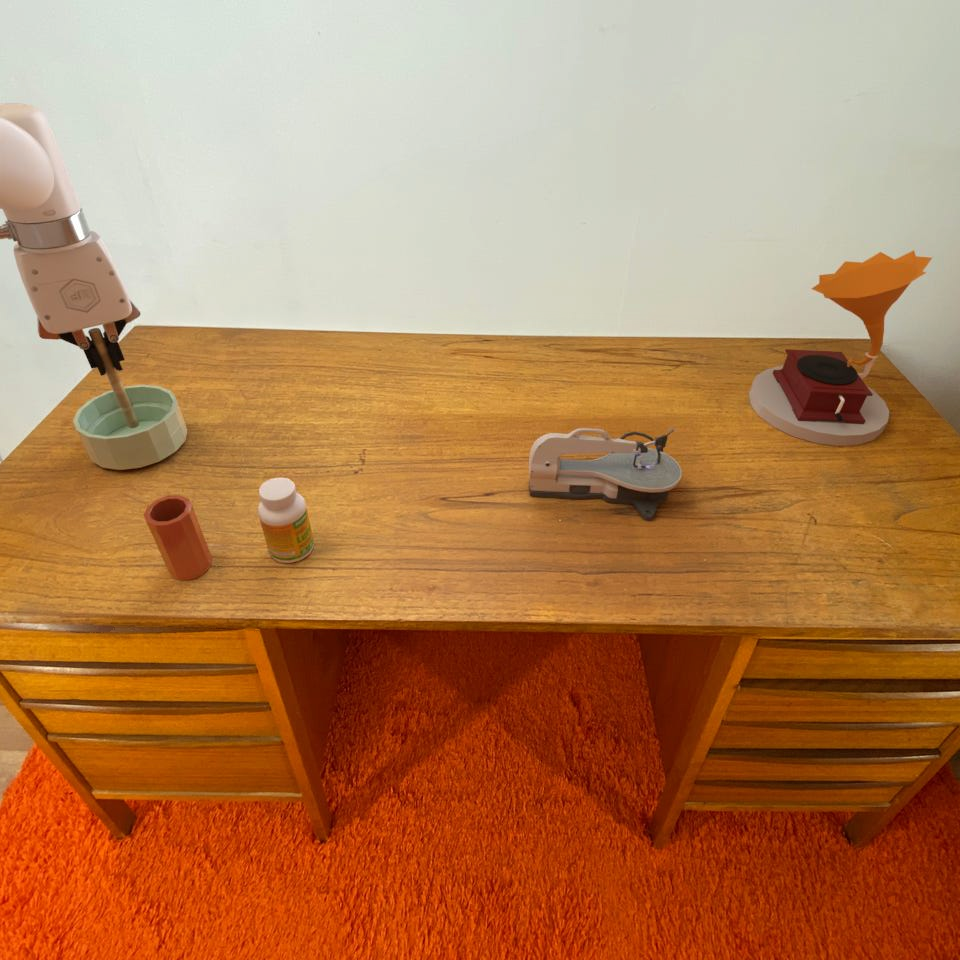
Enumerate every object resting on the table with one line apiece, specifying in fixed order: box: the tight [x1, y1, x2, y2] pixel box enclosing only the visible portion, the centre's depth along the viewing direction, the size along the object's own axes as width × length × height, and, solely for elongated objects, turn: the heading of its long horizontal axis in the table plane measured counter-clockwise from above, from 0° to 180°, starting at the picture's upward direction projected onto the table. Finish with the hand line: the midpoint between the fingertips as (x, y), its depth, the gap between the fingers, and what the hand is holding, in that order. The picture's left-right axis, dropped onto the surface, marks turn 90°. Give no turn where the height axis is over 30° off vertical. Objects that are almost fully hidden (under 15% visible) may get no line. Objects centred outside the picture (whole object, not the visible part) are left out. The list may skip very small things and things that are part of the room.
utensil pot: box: [143, 494, 213, 581], centre depth 73 cm, size 5×5×9 cm
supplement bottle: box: [257, 477, 315, 564], centre depth 75 cm, size 5×5×10 cm
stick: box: [87, 327, 139, 428], centre depth 87 cm, size 1×1×15 cm
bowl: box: [72, 384, 189, 471], centre depth 91 cm, size 13×13×6 cm
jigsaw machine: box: [528, 427, 683, 522], centre depth 84 cm, size 20×11×12 cm
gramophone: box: [748, 250, 933, 447], centre depth 95 cm, size 20×20×25 cm
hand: (109, 367), depth 85 cm, fingers closed on stick, 1 cm apart
